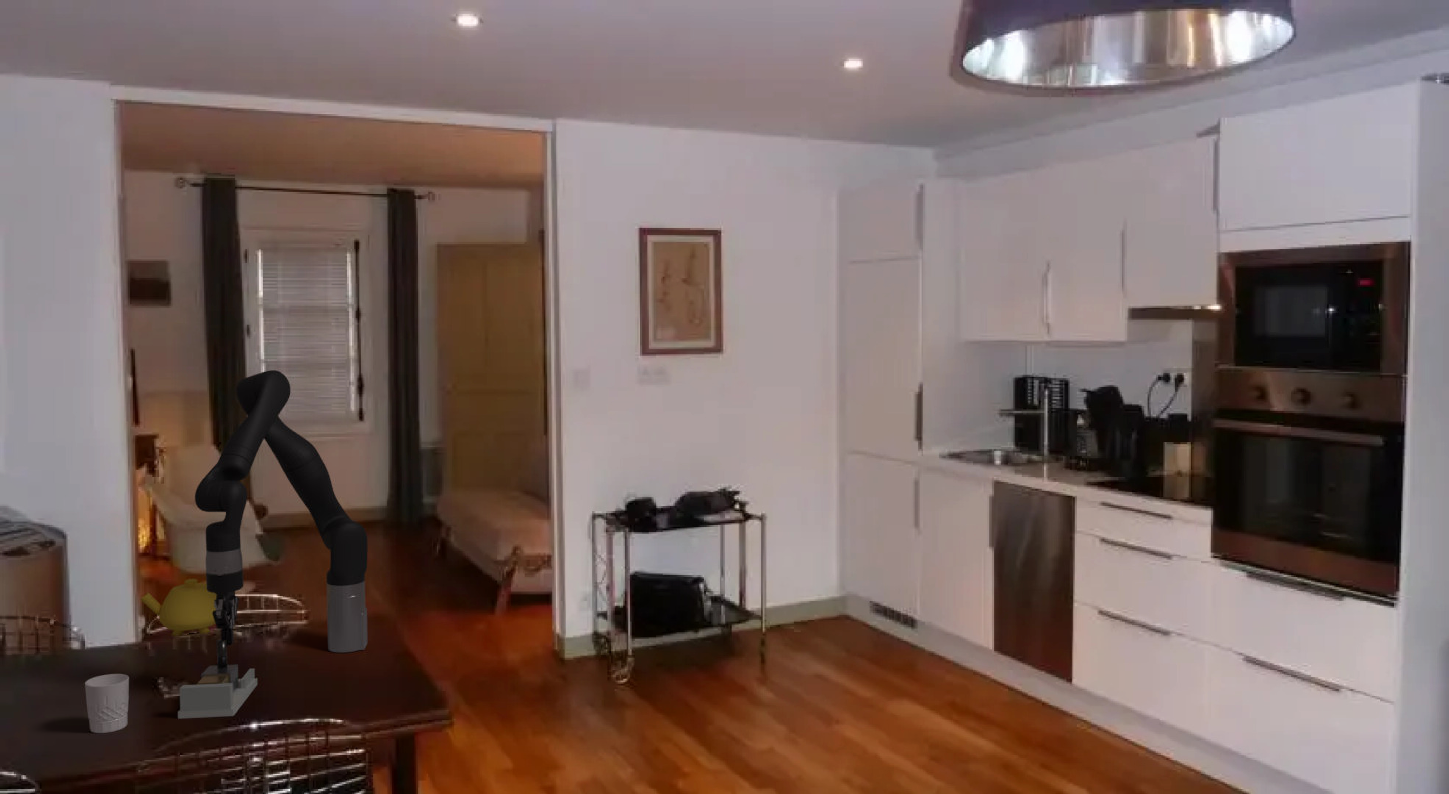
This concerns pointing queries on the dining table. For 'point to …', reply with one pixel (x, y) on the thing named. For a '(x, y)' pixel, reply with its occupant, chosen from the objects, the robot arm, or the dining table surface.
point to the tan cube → (214, 679)
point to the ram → (223, 665)
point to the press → (215, 698)
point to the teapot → (185, 608)
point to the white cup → (107, 702)
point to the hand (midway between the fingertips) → (227, 644)
